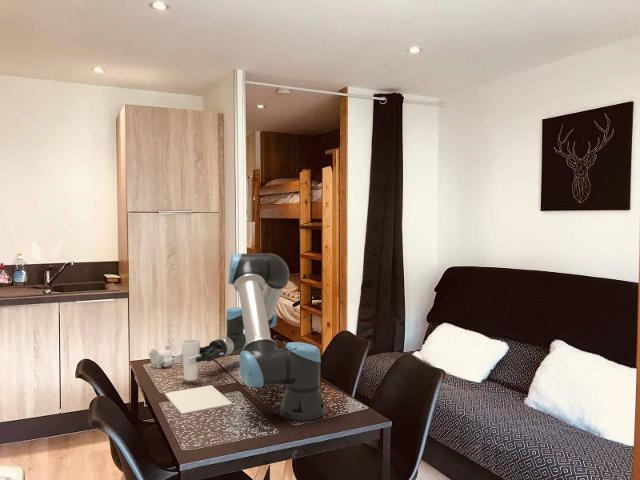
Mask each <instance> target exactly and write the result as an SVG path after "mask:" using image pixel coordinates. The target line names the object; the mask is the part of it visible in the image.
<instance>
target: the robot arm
mask: <svg viewBox="0 0 640 480" xmlns="http://www.w3.org/2000/svg"><path fill="white" fill-rule="evenodd" d="M228 268H229V270H228V284H229V285H231V286H233V288H234V290H235V291H236V292H237V293H238V295H239V302H240V306H235V307H234V306H233V307H228V308H227V310H226V318H225V319H226V321H225V322H226V335H225V337H221V338H217V339H214V340H212V341H210V342H209V344H208V345H205V346H204V347H203V346H202V347H201V345H200V355H197V356H194V357H191V358H188V365H189V366H190V365H193V364H196V363H199V364H200V363H201V362H203V363H204V362H207V363H210V362H212V361H215V360H217V359H220V358H223V357H226V356H228V355H232V354H233V353H237V352H240V354H239V357H238V363H239V371H240V376H241V379H242V381H243V383H244V385H245V386H247V387H248V388H262V387H263V388H264V387H270V386H271V387H272V386H273V387H274V386H280V385H285V392H284V393H283V397H282V399H281V403H280V405H279V413H280V415H281V416H282V417H283V418H285V419H288V420H292V421H298V422H300V421H301V422H303V421H304V422H305V421H306V420H308V421H313V419H314V420H317V419H319V418H321V417H324V415H325V412H326V411H325V410H326V409H325V407H326V406H325V402H324V398H323V396H322V395H323V394H322V392H321V362H322V360H321V350H320V348H319V347H318V346H316V345H313V344H310V343H306V342H300V341H299V342H298V341H291V342H287V343H286V345H285V348H278V344H277V342H276V341H275V340H274V339H272V337H271V336H272V335H271V330H270V328H274V327H276V325H277V321H278V319H277V317H278V316H277V312H276V308H277V305H278V302H279V301H280V297H281V295H282V292H283V290H284V288H286V286H288V283H289V280H290V270H289V267H288V265H287V263H286V262H285V260H283V258H282V257H280V256H279V255H277V254H274V253H270V252H269V253H268V252H267V253H243V252H242V253H234V254H232V255H231V256H230V260H229V267H228ZM173 358H174V360H173V363H174V364H175V363H176V364H177V363H179V362H183V357H182V353H177V354H176V355H173Z"/></svg>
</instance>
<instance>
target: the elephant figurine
mask: <svg viewBox="0 0 640 480" xmlns="http://www.w3.org/2000/svg"><path fill="white" fill-rule="evenodd" d="M148 356H149V359H150V364H151V367H152V368H154V369H155V368H156V369H161V368H162V366H163V367H166V368H167V367H169V366H172V365H173V363H174V356H173V351H172V347H171V345H170V344H166V346H165V349H161V350H157V349H154V348H152V349H151V350H150V351H149V353H148Z"/></svg>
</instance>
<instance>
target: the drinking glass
mask: <svg viewBox="0 0 640 480" xmlns="http://www.w3.org/2000/svg"><path fill="white" fill-rule="evenodd" d="M200 344H201V343H200V340H199V339H193V338H192V339H185V340H182V343H181V345H182V346H181V352H182V357H183V361H182V366H183V379H184V380H185V381H189V382H190V381H191V382H192V381H196V380H198V378H199V364H200V362H199V363H196V364H193V365H190V366H189V365H188V358H191V357H194V356H197V355H200V346H201V345H200Z"/></svg>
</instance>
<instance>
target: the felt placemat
mask: <svg viewBox="0 0 640 480" xmlns="http://www.w3.org/2000/svg"><path fill="white" fill-rule="evenodd" d="M164 396H165V397H166V398H167V399H168V401H170V403H171V404H172V405H173V406H174V407H175V409H176V410H177V411H178V412H179V413H180V414H181V415H182V416H183V415H189V414H192V413H196V412H197V413H198V412H202V411H208V410H213V409H219V408H223V407H224V408H225V407H228V406H233V402H232V401H231V400H229V399H228V398H227V397H226V396H225V395H224V394H222V393H221V392H220V391H219V390H217V389H216V388H215V387H214V386H213V385H206V386H200V387H199V386H198V387H193V388H192V387H191V388H187V389H182V390H175V391H170V392H164Z"/></svg>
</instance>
